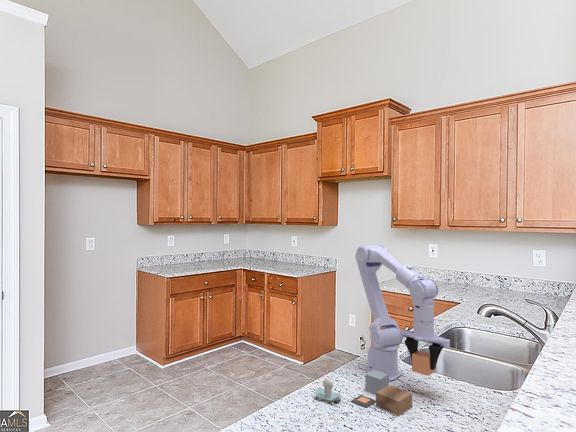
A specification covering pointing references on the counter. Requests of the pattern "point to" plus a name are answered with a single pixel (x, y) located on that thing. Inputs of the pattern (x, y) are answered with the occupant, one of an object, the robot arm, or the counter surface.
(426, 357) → the terracotta block
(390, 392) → the walnut block
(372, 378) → the slate block
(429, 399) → the counter surface
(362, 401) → the card
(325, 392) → the pacifier
